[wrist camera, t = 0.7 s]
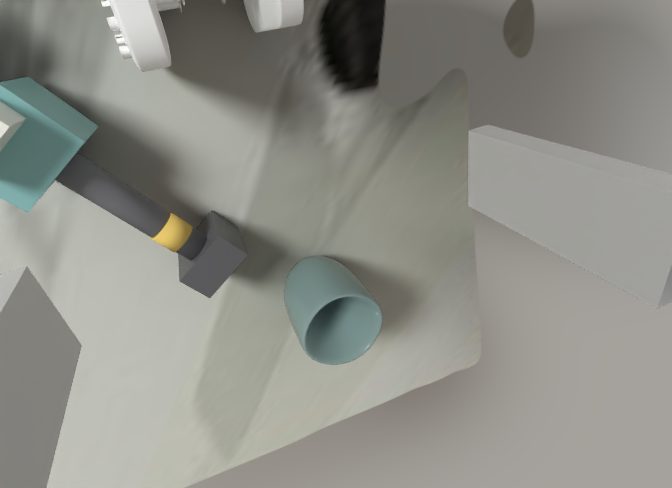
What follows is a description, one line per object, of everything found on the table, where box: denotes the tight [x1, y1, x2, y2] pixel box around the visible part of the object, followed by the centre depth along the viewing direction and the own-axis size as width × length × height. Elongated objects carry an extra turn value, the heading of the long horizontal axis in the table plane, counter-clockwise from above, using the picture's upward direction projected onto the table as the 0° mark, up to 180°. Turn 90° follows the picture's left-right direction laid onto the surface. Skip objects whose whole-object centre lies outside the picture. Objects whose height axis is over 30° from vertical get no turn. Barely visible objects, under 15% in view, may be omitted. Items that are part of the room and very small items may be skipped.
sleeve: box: [0, 77, 99, 212], centre depth 25 cm, size 5×6×9 cm
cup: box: [284, 256, 383, 365], centre depth 40 cm, size 8×8×10 cm
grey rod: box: [55, 153, 207, 260], centre depth 28 cm, size 21×3×3 cm, turn 46°
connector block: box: [178, 210, 248, 298], centre depth 36 cm, size 3×5×6 cm, turn 136°
